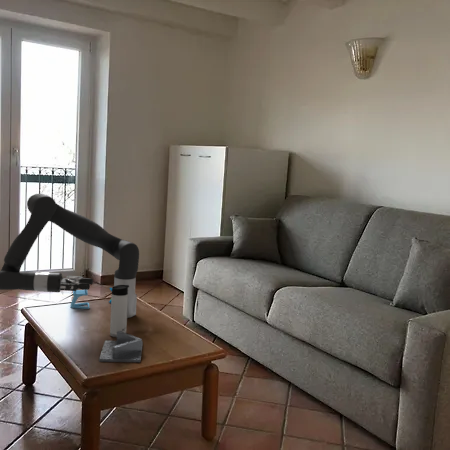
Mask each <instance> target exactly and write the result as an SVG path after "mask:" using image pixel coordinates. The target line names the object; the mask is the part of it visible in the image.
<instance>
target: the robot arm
mask: <svg viewBox="0 0 450 450" xmlns="http://www.w3.org/2000/svg"><path fill="white" fill-rule="evenodd" d="M26 206H27V209H28V212H29V213H30V216H29V219H28V221H27V222H26V225H25V226H24V227H23V229H22V230H21V231H20V233H18V235H17V236H16V237H15V238H14V240H13V241H12V243H11V245H10V246H9V248H8V250H7V252H6V254H5V256H4V259H3V265H2V267H1V269H0V290H1V291H2V290H4V291H5V290H6V291H7V290H8V291H9V290H11V291H13V290H21V291H31V292H32V291H34V292H44V293H60V292H61V291H66V292H67V291H68V292H73V291H76V290H87V291H89V290H90V289H91V288H90V287H91V285H93V284H94V279H93V278H88V277H83V276H82V275H81V276H80V275H66V277H64V278H63V274H62V273H61V272H51V271H50V272H49V271H41V272H40V271H39V272H36V271H34V272H33V271H23V272H22V271H21V268H22V266H23V264H24V262H25V260H26V259H27V257H28V255H29V253H30V251H31V249H32V248H33V245H34V244H35V242H36V240H37V238H38V237H39V235H40V234H41V232H42V231H43V230H44V228H45V227H46V225H47V224H48V223H49V222H51V223H53V224H54V225H56V226H58V227H59V228H60V229H62V230H64V231H65V232H66V233H68V234H70V235H71V236H73V237H75V238H76V239H78V240H80V241H82V242H83V243H86V244H88V245H91V246H93V247H95V248H99V249H101V250H103V251H105V252H106V253H108V254H109V255H110V256H112V257H114V258H115V259H116V260H117V261H118V262H119V263H118V267H117V268H118V269H115V271H114V278H113V279H114V281H113V282H114V283H113V284H114V285H113V287H114V286H117V285H129V288H128V303H127V319H128V318H129V319H130V318H132V317H134V316H137V299H138V298H137V297H138V295H137V293H136V282H137V281H136V280H137V279H136V278H137V273H138V270H139V262H140V250H139V247H138V245H137V243H134V242H131V241H129V240H125V239H122V238H119V237H117V236H115V235H113V234H110V233H109V232H108V231H107V230H105V229H104V228H103V227H102V226H101V225H100V224H98V223H97V222H95V221H93V220H91V219H90V218H88V217H86V216H84V215H82V214H79V213H77V212H74V211H72V210H69V209H66V208H65V207H63V206H61V205H59V204H58V203H56V200H55V199H54V198H53V197H51V196H49V195H47V194H44V193H35V194H33V195H31V196H29V198H27V201H26Z"/></svg>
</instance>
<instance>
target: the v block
mask: <svg viewBox="0 0 450 450" xmlns="http://www.w3.org/2000/svg"><path fill="white" fill-rule="evenodd" d="M143 341H144V340H143V338H140V337H138V336H134V335H133V334H129V333H127V332H126V333H125V332H122V331H117V337H116V340H104V342H103V346H102V348H101V352H100V355H99V357H98V362H103V363H105V362H107V363H141V361H142V360H141V359H142V352H143V343H144V342H143Z"/></svg>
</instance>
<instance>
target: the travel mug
mask: <svg viewBox="0 0 450 450" xmlns="http://www.w3.org/2000/svg"><path fill="white" fill-rule="evenodd" d="M111 288H112V291H111V298H110V299H111V303H110V304H111V306H110V321H109V322H110V325H109V327H110V328H109V335H110V336H111V337H113V338H117V331H122V332H125V333H127V323H128V318H127V303H128V288H129V285H117V286H114V285H113V286H112V287H111Z"/></svg>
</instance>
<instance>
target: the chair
mask: <svg viewBox="0 0 450 450" xmlns="http://www.w3.org/2000/svg"><path fill="white" fill-rule="evenodd" d="M72 296H73V297H72V299H71V303H70V307H69V308H70V309H83V310H84V309H85V310H89V309H90V303H89V302H79V303H76V302H77V300H78V298H80V297H84V296H89V292H88V290H84V289H79V290H76V291H72Z"/></svg>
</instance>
